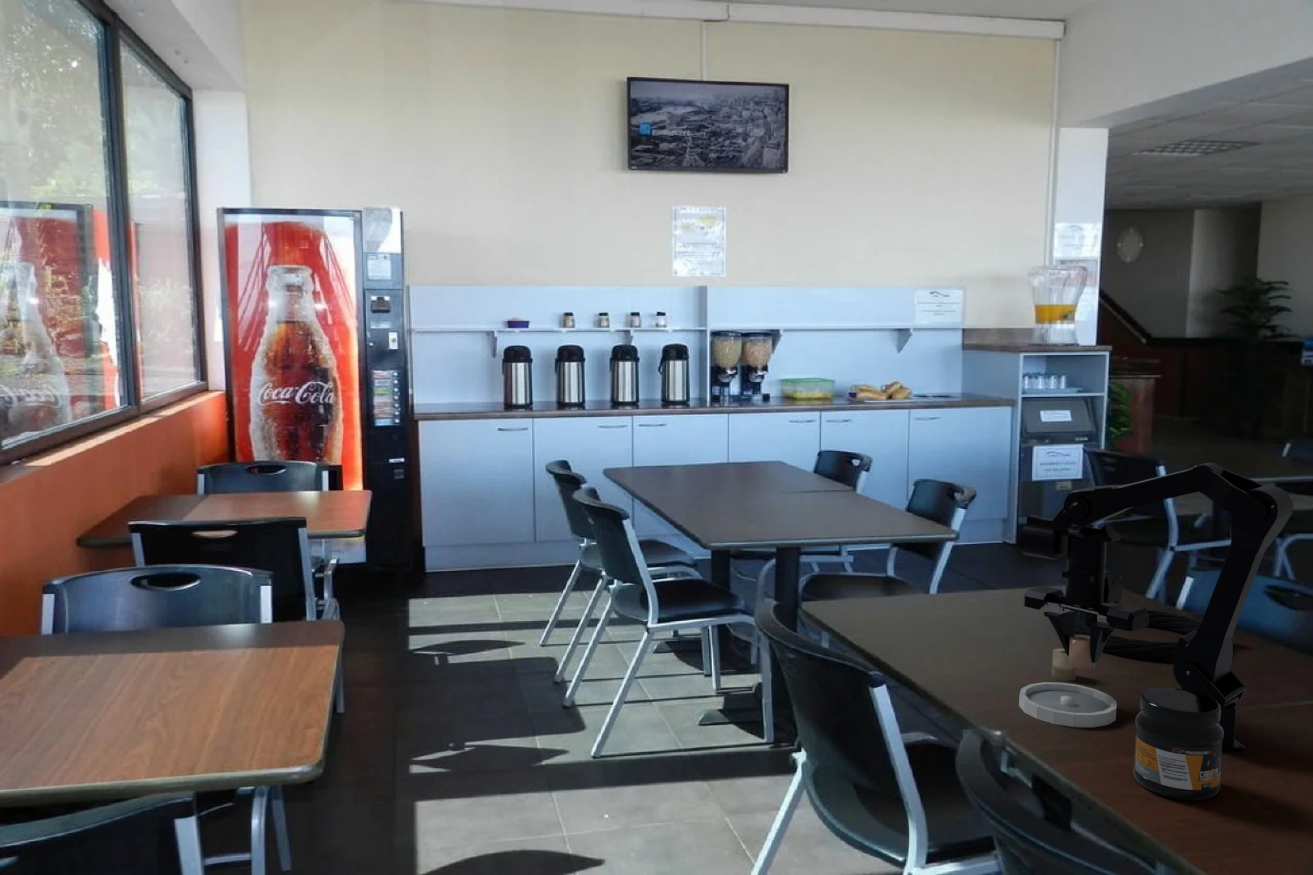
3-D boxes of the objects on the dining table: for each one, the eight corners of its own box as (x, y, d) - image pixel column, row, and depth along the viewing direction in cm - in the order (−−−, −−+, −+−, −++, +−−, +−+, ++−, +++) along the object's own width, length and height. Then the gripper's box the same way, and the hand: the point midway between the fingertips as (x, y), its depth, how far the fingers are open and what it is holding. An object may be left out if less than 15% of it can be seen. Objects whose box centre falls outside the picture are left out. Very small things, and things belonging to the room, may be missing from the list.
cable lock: (1056, 602, 216) (1208, 609, 210) (1055, 619, 216) (1208, 627, 210) (1083, 640, 189) (1259, 649, 183) (1082, 660, 189) (1258, 670, 183)
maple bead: (1079, 681, 177) (1080, 655, 177) (1056, 680, 177) (1057, 655, 177) (1071, 673, 181) (1072, 648, 181) (1048, 673, 181) (1049, 648, 181)
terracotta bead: (1099, 666, 165) (1101, 638, 164) (1086, 671, 162) (1087, 643, 162) (1077, 659, 168) (1078, 632, 167) (1063, 664, 165) (1064, 637, 165)
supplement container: (1170, 807, 130) (1175, 717, 129) (1115, 773, 140) (1119, 689, 139) (1239, 798, 133) (1244, 710, 131) (1180, 765, 143) (1184, 683, 142)
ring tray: (1131, 728, 156) (1131, 715, 156) (1036, 726, 157) (1036, 714, 157) (1095, 694, 170) (1096, 683, 170) (1008, 693, 171) (1009, 681, 171)
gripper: (1168, 568, 161) (1164, 664, 162) (1060, 548, 175) (1057, 636, 177) (1132, 578, 154) (1128, 678, 156) (1023, 557, 169) (1020, 648, 170)
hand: (1082, 659), depth 165 cm, fingers closed on terracotta bead, 4 cm apart
